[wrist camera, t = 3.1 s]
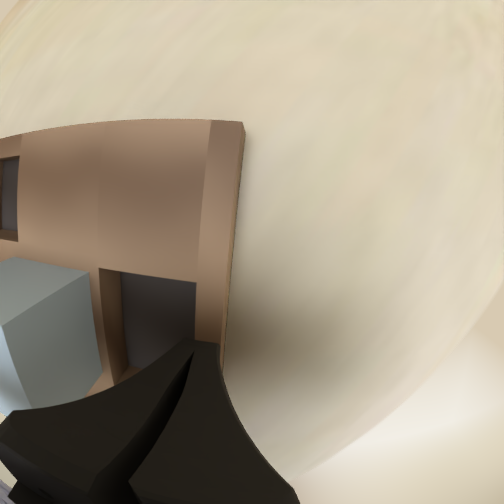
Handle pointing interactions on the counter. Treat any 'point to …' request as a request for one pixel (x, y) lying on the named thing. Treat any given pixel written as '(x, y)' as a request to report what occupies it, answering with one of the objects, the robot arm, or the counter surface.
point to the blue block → (45, 335)
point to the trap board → (131, 226)
